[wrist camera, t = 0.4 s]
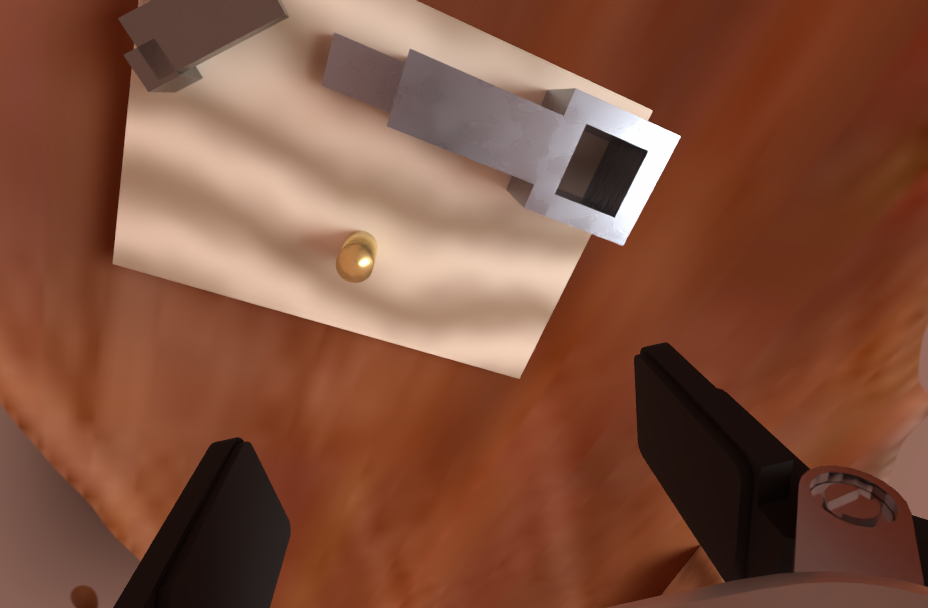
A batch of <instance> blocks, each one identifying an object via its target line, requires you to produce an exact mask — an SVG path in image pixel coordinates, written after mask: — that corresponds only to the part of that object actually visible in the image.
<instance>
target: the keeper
mask: <svg viewBox="0 0 928 608" xmlns="http://www.w3.org/2000/svg"><path fill="white" fill-rule="evenodd" d="M288 17H289V15H288V13H287V11H286V9H285V7H284V5H283V3H282V1H281V0H151V1H149V2H147V3H145V4H143V5H142V6H140V7H138V8H136V9H134V10H132V11H131V12H129V13H127V14H125V15H123V16H121V17H120V18H118V20H119V21H120V23H121V24H122V26H123V27H124V29H125V30H126V32H127V33H128V35H129V36H130V38H131V39H132V41H133V42H134V44H135V45H136V47H137V48H135V49H133V50H131V51H130V52H128V53H126V54H124V57H125V58H126V60H127V61H128V63H129V64H130V66H131V67H132V69H133V70H134V72H135V73H136V75H137V76H138V78H139V79H140V80H141V82H142V83H143V85H144V86H145V88H146V89H147V91H148V92H173V93H176V92H178V91H180V90H181V89H183V88H185V87H187V86H189V85H191V84H193V83H195V82H197V81H199V80H201V79H203V77H202V75H201V74H200V72H199V71H198V69H197V67H196V66H197V65H199V64H201V63H203V62H205V61H206V60H208V59H210V58H212V57H214V56H216V55H218V54H220V53H222V52H224V51H226V50H227V49H229V48H231V47H233V46H235V45H237V44H239V43H241V42H243V41H245V40H247V39H248V38H250V37H252V36H254V35H256V34H258V33H260V32H262V31H264V30H266V29H268V28H269V27H271V26H273V25H275V24H277V23H279V22H281V21H283V20H285V19H287V18H288Z"/></svg>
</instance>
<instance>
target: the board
mask: <svg viewBox="0 0 928 608" xmlns="http://www.w3.org/2000/svg"><path fill="white" fill-rule="evenodd" d="M149 1H151V0H138V7H140V6H142V5H143V4H145V3H147V2H149ZM281 1H282V3H283V5H284V7H285V9H286V11H287V13H288V15H289V17H288V18H287V19H285V20H283V21H281V22H279V23H277V24H275V25H273V26H271V27H269V28H268V29H266V30H264V31H262V32H260V33H258V34H256V35H254V36H252V37H250V38H248V39H247V40H245V41H243V42H241V43H239V44H237V45H235V46H233V47H231V48H229V49H227V50H226V51H224V52H222V53H220V54H218V55H216V56H214V57H212V58H210V59H208V60H206V61H205V62H203V63H201V64H199V65H197V66H196V67H197V69H198V71H199V72H200V74H201V75H202V77H203V79H201V80H199V81H197V82H195V83H193V84H191V85H189V86H187V87H185V88H183V89H181V90H180V91H178V92H176V93H173V92H148V91H147V89H146V88H145V86H144V85H143V83H142V82H141V80H140V79H139V78H138V76H137V75H136V73H135V72H134V70H133V69H132V71H131V81H130V92H129V102H128V112H127V122H126V132H125V143H124V153H123V163H122V173H121V184H120V194H119V204H118V214H117V224H116V235H115V245H114V255H113V264H115V265H118V266H122V267H125V268H129V269H132V270H136V271H139V272H143V273H146V274H150V275H154V276H157V277H161V278H164V279H168V280H171V281H175V282H178V283H182V284H185V285H189V286H192V287H196V288H200V289H203V290H207V291H210V292H214V293H217V294H221V295H224V296H228V297H231V298H235V299H239V300H242V301H246V302H249V303H253V304H256V305H260V306H263V307H267V308H270V309H274V310H278V311H281V312H285V313H288V314H292V315H295V316H299V317H302V318H306V319H309V320H313V321H316V322H320V323H324V324H327V325H331V326H334V327H338V328H341V329H345V330H348V331H352V332H355V333H359V334H363V335H366V336H370V337H373V338H377V339H380V340H384V341H387V342H391V343H394V344H398V345H402V346H405V347H409V348H412V349H416V350H419V351H423V352H426V353H430V354H433V355H437V356H440V357H444V358H448V359H451V360H455V361H458V362H462V363H465V364H469V365H472V366H476V367H479V368H483V369H487V370H490V371H494V372H497V373H501V374H504V375H508V376H511V377H515V378H518V379H519V378H520V376H521V374H522V372H523V370H524V368H525V366H526V364H527V362H528V360H529V358H530V356H531V354H532V352H533V350H534V348H535V346H536V344H537V342H538V340H539V338H540V336H541V334H542V332H543V330H544V328H545V326H546V324H547V322H548V320H549V318H550V316H551V314H552V312H553V310H554V308H555V306H556V304H557V302H558V300H559V298H560V296H561V294H562V292H563V290H564V288H565V286H566V284H567V282H568V280H569V278H570V276H571V274H572V272H573V270H574V268H575V266H576V264H577V262H578V260H579V258H580V256H581V254H582V252H583V250H584V248H585V246H586V244H587V242H588V240H589V238H590V236H591V233H588V232H586V231H583V230H580V229H578V228H575V227H572V226H570V225H567V224H564V223H562V222H559V221H556V220H554V219H551V218H549V217H546V216H543V215H541V214H538V213H535V212H533V211H530V210H527V209H525V208H523V207H522V206H521V205H520V204H519V202H518V201H517V200H516V199H515V198H514V197H513V196H512V195H511V194H510V193H509V192H508V191H507V190H506V189H507V187H508V184H509V182H510V179H511V177H512V175H509V174H507V173H504V172H502V171H499V170H496V169H494V168H491V167H489V166H486V165H484V164H481V163H479V162H476V161H474V160H471V159H468V158H466V157H463V156H461V155H458V154H456V153H453V152H451V151H448V150H446V149H443V148H441V147H438V146H435V145H433V144H430V143H428V142H425V141H423V140H420V139H418V138H415V137H413V136H410V135H407V134H405V133H402V132H400V131H397V130H395V129H392V128H390V127H387V123H388V120H389V117H390V113H389V112H387V111H384V110H382V109H379V108H377V107H374V106H372V105H369V104H367V103H364V102H362V101H359V100H357V99H354V98H352V97H349V96H347V95H344V94H342V93H339V92H337V91H334V90H332V89H329V88H327V87H324V86H322V81H323V77H324V73H325V68H326V64H327V60H328V56H329V52H330V48H331V43H332V39H333V35H334V32H335V33H337V34H340V35H342V36H344V37H347V38H349V39H351V40H354V41H356V42H358V43H361V44H363V45H365V46H367V47H370V48H372V49H374V50H377V51H379V52H381V53H384V54H386V55H388V56H391V57H393V58H395V59H398V60H400V61H402V62H405V63H406V60H407V56H408V53H409V50H410V49H412V50H415V51H417V52H419V53H422V54H424V55H426V56H428V57H431V58H433V59H435V60H438V61H440V62H442V63H444V64H447V65H449V66H451V67H454V68H456V69H458V70H460V71H463V72H465V73H467V74H469V75H472V76H474V77H476V78H479V79H481V80H483V81H485V82H488V83H490V84H492V85H495V86H497V87H499V88H501V89H504V90H506V91H508V92H511V93H513V94H515V95H517V96H520V97H522V98H524V99H526V100H529V101H531V102H533V103H536V104H538V105H540V106H541V104H542V102H543V99H544V97H545V94H546V92H547V90H550V89H571V88H576V89H579V90H581V91H583V92H585V93H587V94H590V95H592V96H594V97H596V98H598V99H600V100H603V101H605V102H607V103H609V104H611V105H614V106H616V107H618V108H620V109H622V110H624V111H627V112H629V113H631V114H633V115H635V116H638V117H640V118H642V119H644V120H646V121H648V119H649V117H650V115H651V113H652V111H653V110H651V109H648V108H646V107H644V106H642V105H640V104H638V103H635V102H633V101H631V100H629V99H627V98H625V97H623V96H620V95H618V94H616V93H614V92H612V91H610V90H608V89H605V88H603V87H601V86H599V85H597V84H595V83H592V82H590V81H588V80H586V79H584V78H582V77H580V76H577V75H575V74H573V73H571V72H569V71H567V70H565V69H562V68H560V67H558V66H556V65H554V64H552V63H550V62H547V61H545V60H543V59H541V58H539V57H537V56H534V55H532V54H530V53H528V52H526V51H524V50H522V49H519V48H517V47H515V46H513V45H511V44H509V43H507V42H504V41H502V40H500V39H498V38H496V37H494V36H491V35H489V34H487V33H485V32H483V31H481V30H479V29H476V28H474V27H472V26H470V25H468V24H466V23H464V22H461V21H459V20H457V19H455V18H453V17H451V16H448V15H446V14H444V13H442V12H440V11H438V10H436V9H433V8H431V7H429V6H427V5H425V4H423V3H421V2H418V1H416V0H281ZM135 48H137V47H136V45H135V44H134V49H135ZM608 144H609V141H607V140H604V139H602V138H600V137H597V136H595V135H593V134H590V133H588V132H586V131H584V130H583V133H582V135H581V137H580V139H579V141H578V144H577V146H576V148H575V150H574V152H573V155H572V157H571V159H570V161H569V164H568V166H567V168H566V170H565V172H564V175H563V177H562V179H561V181H560V183H559V186H558V189H561V190H563V191H566V192H568V193H571V194H573V195H576V196H578V197H581V198H583V196H584V194H585V192H586V190H587V188H588V186H589V184H590V182H591V180H592V178H593V175H594V173H595V171H596V169H597V167H598V165H599V163H600V161H601V159H602V157H603V154H604V152H605V150H606V148H607V146H608ZM355 231H366V232H368V233H370V234H371V235H373V236H374V238H375V239H376V241H377V244H378V251H377V255H376V259H375V263H374V267H373V271H372V273H371V275H370V277H369V278H368V279H366V280H365V281H363V282H359V283H352V282H348V281H346V280H344V279H343V278H342V277H341V276H340V275H339V274H338V272H337V270H336V259H337V257H338V255H339V253H340V251H341V248H342V246H343V244H344V242H345V240H346V238H347V237H348V236H349V235H350V234H351V233H353V232H355Z"/></svg>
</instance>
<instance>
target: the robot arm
mask: <svg viewBox="0 0 928 608" xmlns="http://www.w3.org/2000/svg"><path fill="white" fill-rule="evenodd" d="M634 367H635V389H636V412H637V434H638V445H639V449H640V452H641V454H642V456H643V458H644V459H645V461H646V462H647V464H648V465H649V467H650V469H651V470H652V472H653V473H654V475H655V476H656V478H657V479H658V481H659V482H660V484H661V485H662V487H663V488H664V490H665V491H666V493H667V495H668V496H669V498H670V499H671V501H672V502H673V504H674V505H675V507H676V508H677V510H678V511H679V513H680V514H681V516H682V518H683V519H684V521H685V522H686V524H687V525H688V527H689V528H690V530H691V531H692V533H693V534H694V536H695V537H696V539H697V541H698V542H699V544H700V545H701V547H702V548H703V550H704V551H705V553H706V554H707V556H708V557H709V559H710V560H711V562H712V564H713V565H714V567H715V568H716V570H717V571H718V573H719V574H720V576H721V577H722V579H723V580H724V581H725V583H720V584H715V585H710V586H705V587H700V588H695V589H690V590H685V591H681V592H676V593H671V594H666V595H661V596H656V597H652V598H647V599H643V600H638V601H634V602H629V603H625V604H620V605H616V606H611V607H607V608H928V520H926V519H923V518H920V517H916V516H913V515H912V514H911V511H910V509H909V506H908V504H907V502H906V501H905V500H904V499H903V497H902V496H901V495H900V494H899V493H898V492H897V491H896V490H895V489H893V488H892V487H890V486H889V485H888V484H886V483H885V482H884V481H882V480H880V479H878V478H876V477H874V476H872V475H870V474H868V473H865V472H862V471H858V470H855V469H852V468H847V467H840V466H819V467H816V468H813V469H809V468H808V467H807V466H806V465H805V464H804V463H803V462H802V461H801V460H799V459H798V458H797V457H796V456H795V455H794V454H793V453H792V452H791V451H790V450H789V449H787V448H786V447H785V446H784V445H783V444H782V443H781V442H780V441H779V440H778V439H777V438H775V437H774V436H773V435H772V434H771V433H770V432H769V431H768V430H767V429H766V428H765V427H763V426H762V425H761V424H760V423H759V422H758V421H757V420H756V419H755V418H754V417H753V416H752V415H750V414H749V413H748V412H747V411H746V410H745V409H744V408H743V407H742V406H741V405H740V404H738V403H737V402H736V401H735V400H734V399H733V398H732V397H731V396H730V395H729V394H728V393H726V392H725V391H723V390H722V389H718V388H716V387H715V386H714V385H713V384H711V383H710V382H709V381H708V380H707V379H706V378H705V377H704V376H703V375H702V374H701V373H700V372H699V371H698V370H696V369H695V368H694V367H693V366H692V365H691V364H690V363H689V362H688V361H687V360H686V359H685V358H684V357H683V356H682V355H680V354H679V353H678V352H677V351H676V350H675V349H674V348H673V347H672V346H671V345H670V344H668V343H660V344H656V345H651V346H647V347H643V348H642V349H641V351H640V354H639V355H636V356H635V358H634ZM290 531H291V529H290V522H289V519H288V517H287V515H286V513H285V511H284V509H283V507H282V505H281V503H280V501H279V499H278V497H277V495H276V493H275V491H274V489H273V487H272V485H271V483H270V481H269V479H268V477H267V475H266V472H265V470H264V468H263V466H262V464H261V462H260V460H259V458H258V456H257V454H256V452H255V450H254V448H253V446H252V445H251V443H250V442H244V441H243V440H242V439H241V438H238V437H236V438H232V439H227V440H223V441H218V442H215V443H212V444H211V445H210V447H209V448H208V450H207V452H206V453H205V455H204V457H203V458H202V460H201V462H200V463H199V465H198V467H197V468H196V470H195V472H194V473H193V475H192V477H191V478H190V480H189V482H188V483H187V485H186V487H185V488H184V490H183V492H182V493H181V495H180V497H179V498H178V500H177V502H176V503H175V505H174V507H173V508H172V510H171V512H170V514H169V515H168V517H167V519H166V520H165V522H164V524H163V525H162V527H161V529H160V530H159V532H158V534H157V535H156V537H155V539H154V540H153V542H152V544H151V545H150V547H149V549H148V550H147V552H146V554H145V555H144V557H143V559H142V560H141V562H140V564H139V565H138V567H137V569H136V570H135V572H134V574H133V575H132V577H131V579H130V581H129V582H128V584H127V586H126V587H125V589H124V591H123V592H122V594H121V596H120V597H119V599H118V601H117V603H116V604H115V606H114V607H113V608H270V605H271V601H272V598H273V594H274V591H275V587H276V584H277V580H278V577H279V573H280V570H281V566H282V563H283V559H284V556H285V552H286V549H287V545H288V542H289V538H290Z"/></svg>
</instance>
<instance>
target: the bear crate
mask: <svg viewBox="0 0 928 608" xmlns="http://www.w3.org/2000/svg"><path fill="white" fill-rule="evenodd" d="M720 583H725V581H724V580H723V579H722V577H721V576H720V574H719V573H718V571H717V570H716V568H715V567H714V565H713V564H712V562H711V560H710V559H709V557H708V556H707V554H706V553H705V551H704V550H703V548H702V547H701V545H700V547H699V548H698V549H697V550H696V552H695V553H694V554H693V555H692V557H691V558H690V559H689V560H688V562H687V563H686V564H685V565H684V567H683V568H682V569H681V570H680V572H679V573H678V574H677V575H676V577H675V578H674V579H673V580H672V582H671V583H670V584H669V585H668V587H667V588H666V589H665V591H664V592H663V593H662V594H661V595H666V594H671V593H676V592H681V591H685V590H690V589H695V588H700V587H705V586H710V585H715V584H720Z"/></svg>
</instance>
